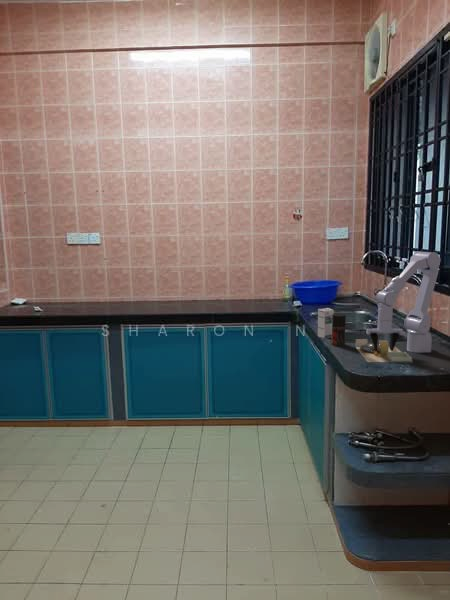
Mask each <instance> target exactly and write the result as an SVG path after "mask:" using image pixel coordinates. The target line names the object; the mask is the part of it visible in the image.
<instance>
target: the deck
mask: <svg viewBox="0 0 450 600" xmlns="http://www.w3.org/2000/svg"><path fill="white" fill-rule="evenodd" d="M355 348H356V350H357V351H358V352H359V353H360V355H361V356H362V357H363V358H364V360H365V361H366V362H367V363H393V362H392V361H391V360H390V359H389V358H388V357H387V356H381V355H380V354H379V353H377V355H374V354H373V353H370V352H365V351H362V350H360V347H358V346H355ZM388 352H402V351H401V350H400V349H399V348H397V346H394V349H393V351H391V350H390V346H388Z"/></svg>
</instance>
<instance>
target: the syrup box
mask: <svg viewBox="0 0 450 600" xmlns="http://www.w3.org/2000/svg"><path fill="white" fill-rule="evenodd" d="M333 314H335V310H334V309H333V308H330V307H326V308H318V309H317V337H319V338H320V337H321V338H324V339H325V338H331V339H332V315H333Z"/></svg>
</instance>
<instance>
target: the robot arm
mask: <svg viewBox="0 0 450 600" xmlns="http://www.w3.org/2000/svg"><path fill="white" fill-rule="evenodd" d="M440 263H441V257H440V255H439V254H438V253H437V252H434V251H433V252H429V251H421V250H420V251H419V250H417V251H415V252H414V253H413V255H412V256H410V260H409V262H408V264H407V265H406V266H405V268H404V270H403V271H402V272H401V273H400V275H399V276H398V277H397V276H396V277H393V278H392V279H391V281H390V282H389V283H388V284H387V286H385V287H384V289H383V290H380V291H378V293H377V294H376V296H375V297H374V298H375V302H376V303H377V307H378V309H377V313H378V314H377V327H375V328H366V330H365V331H366V334H367V335H369V336H370V339H371V340H372V343H373V345H374V350H375V351H377V344H378V342H379V336H378V335H389V338H390V340H389V341H390V342H389V347H390V350H391V351H393V349H394V347H396V344H397V342H398V340H399V338H400V335H403V334H404V333H403V332H404V330H403V329H402V328H393V309H394V307H393V306H394V304H396V303H397V300H398V297H399V295H400V293H401V292H402V290H404V289H405V288H406V286H407V285H406V282H407V281H408V280H409V279H410V278H411V277H412V276H413V275H414V274H415V273H416V272H417V271H418V270H420V271H421V273H422V274H423V276H422V279H421V282H420V286H419V290H418V293H417V296H416V301H415V302H414V303H415V304H414V307H413V309H411V311H409V312H408V314H407V316H406V317H405V318H404V322H403V325H404V328H405V329H406V332H407V340H406V341H407V342H406V350H407V351H408V352H411V353H415V354H416V353H418V354H421V353H432V341H433V338H432V334H431V333H430V332H429V331H430V328H431V319H432V318H431V315H429V313H428V310H429V308H430V304H431V300H432V296H433V293H434V290H435V286H436V282H437V279H438V275H439V267H440Z"/></svg>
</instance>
